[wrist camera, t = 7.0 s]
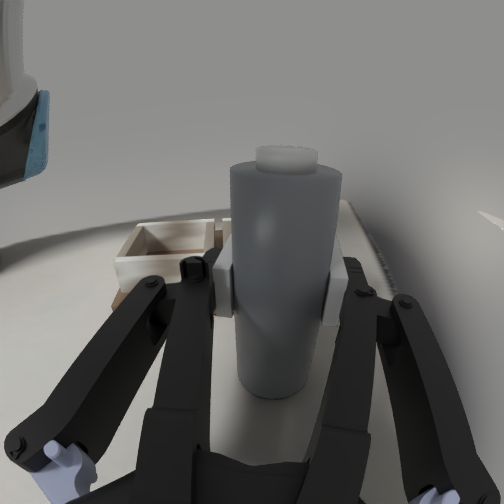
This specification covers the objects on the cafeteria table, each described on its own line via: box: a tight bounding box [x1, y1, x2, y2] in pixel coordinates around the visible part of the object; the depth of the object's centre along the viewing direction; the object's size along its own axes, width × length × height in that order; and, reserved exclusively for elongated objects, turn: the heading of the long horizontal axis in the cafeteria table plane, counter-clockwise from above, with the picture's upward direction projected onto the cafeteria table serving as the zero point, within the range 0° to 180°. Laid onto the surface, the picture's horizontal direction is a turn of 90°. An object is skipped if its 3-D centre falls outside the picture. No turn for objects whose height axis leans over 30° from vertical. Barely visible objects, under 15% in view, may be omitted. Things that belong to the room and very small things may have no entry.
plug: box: [230, 146, 342, 399], centre depth 13 cm, size 4×4×13 cm
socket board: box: [111, 218, 235, 314], centre depth 26 cm, size 18×14×4 cm
